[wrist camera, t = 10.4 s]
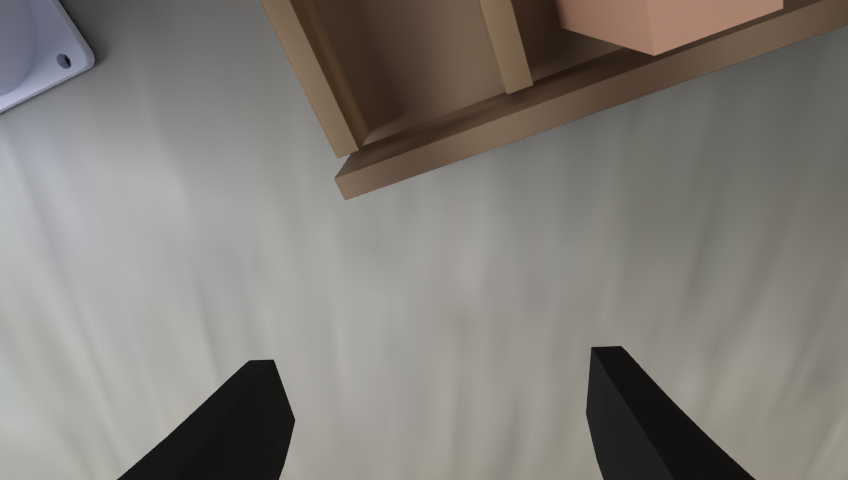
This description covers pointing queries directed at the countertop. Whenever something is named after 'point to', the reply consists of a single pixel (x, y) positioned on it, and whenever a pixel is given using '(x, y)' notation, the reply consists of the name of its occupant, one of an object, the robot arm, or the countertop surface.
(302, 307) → the countertop surface
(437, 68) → the wooden compartment tray
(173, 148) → the countertop surface
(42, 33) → the robot arm
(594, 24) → the pink cardboard carton
